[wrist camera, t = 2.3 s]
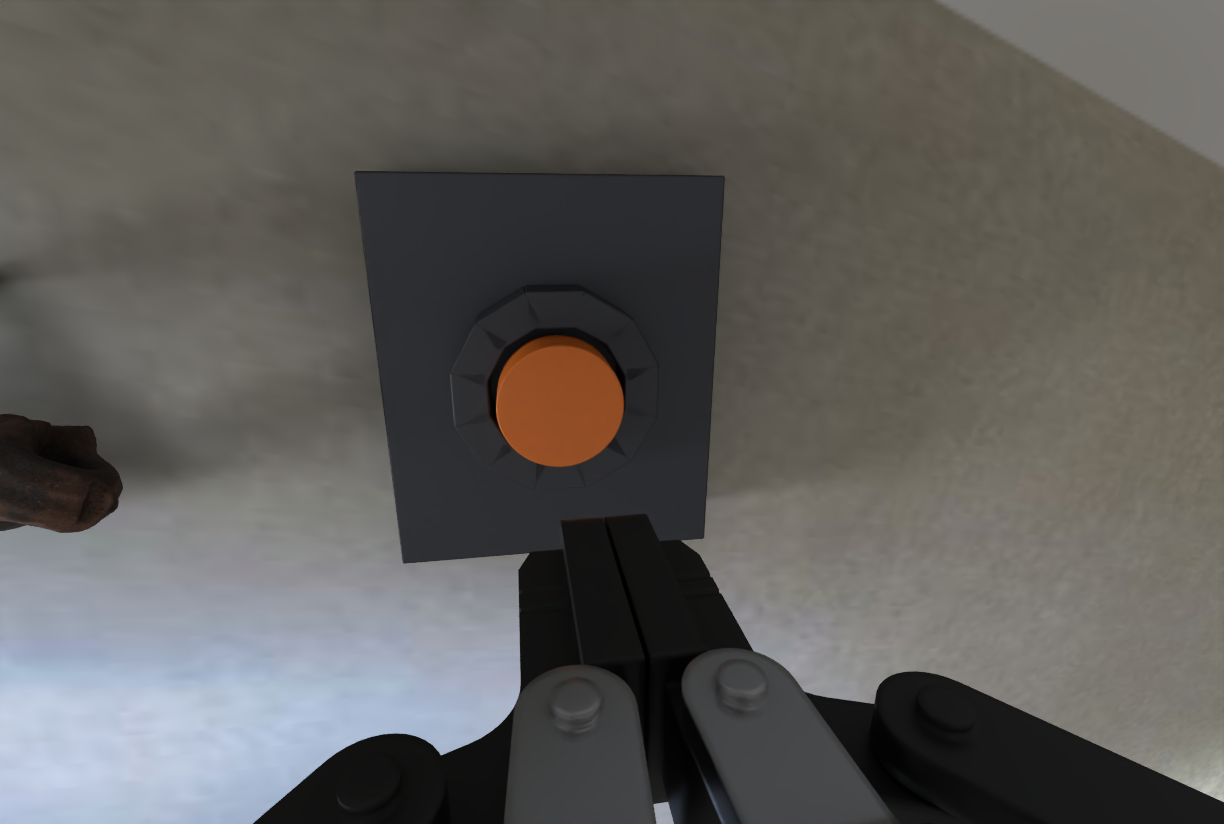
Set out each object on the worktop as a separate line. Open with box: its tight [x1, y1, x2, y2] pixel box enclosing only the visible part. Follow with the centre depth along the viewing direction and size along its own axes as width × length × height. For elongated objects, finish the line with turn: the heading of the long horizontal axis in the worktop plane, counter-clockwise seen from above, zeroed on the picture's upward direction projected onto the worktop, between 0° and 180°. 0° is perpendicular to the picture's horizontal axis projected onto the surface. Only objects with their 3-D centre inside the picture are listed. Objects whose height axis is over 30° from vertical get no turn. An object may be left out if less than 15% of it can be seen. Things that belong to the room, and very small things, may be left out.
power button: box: [496, 335, 624, 467], centre depth 19 cm, size 4×4×2 cm
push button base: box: [354, 171, 725, 563], centre depth 22 cm, size 14×12×5 cm
